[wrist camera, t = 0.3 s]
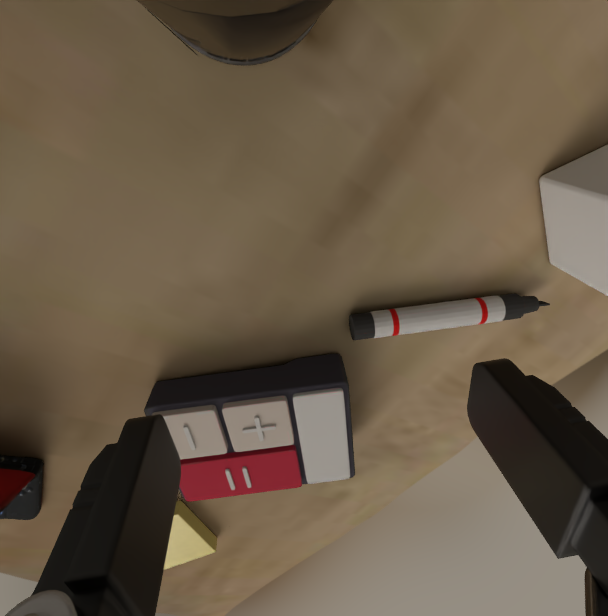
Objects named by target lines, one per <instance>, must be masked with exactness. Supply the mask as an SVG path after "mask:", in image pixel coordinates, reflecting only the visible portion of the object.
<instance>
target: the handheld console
mask: <svg viewBox="0 0 608 616" xmlns="http://www.w3.org/2000/svg"><path fill="white" fill-rule="evenodd" d="M43 465H44V463H43V461H42V460H39V459H35V458H26V457H25V458H20V457H10V456H1V455H0V519H4V518H5V519H18V520H21V519H22V520H30V519H33V518H35V517H36V516H37V515H38V513H39V512H40V510H41V502H42V479H43Z"/></svg>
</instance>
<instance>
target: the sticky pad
mask: <svg viewBox="0 0 608 616" xmlns="http://www.w3.org/2000/svg"><path fill="white" fill-rule="evenodd" d="M216 545H217V537H216V536H215V535H214V534H213V533H212V532H211V531H210V530H209V529H208V528H207V527H206V526H205V525H204V524H203V523H202V522H201V521H200V520H199V519H198V518H197V517H196V515H195V514H194V513H193V512H192V511H191V510H190V509H189V508H188V507H187V506H186V505H185V504H184V503H183V502H182V501H181V500H179V501H176V506H175V511H174V517H173V522H172V527H171V533H170V538H169V543H168V549H167V554H166V559H165V564H164V570H165V569H168V568H171V567H174V566H177V565H180V564H182V563H185V562H188V561H191V560H194V559H197V558H200V557H203V556H205V555H208V554H211V553H214V552H216Z"/></svg>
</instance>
